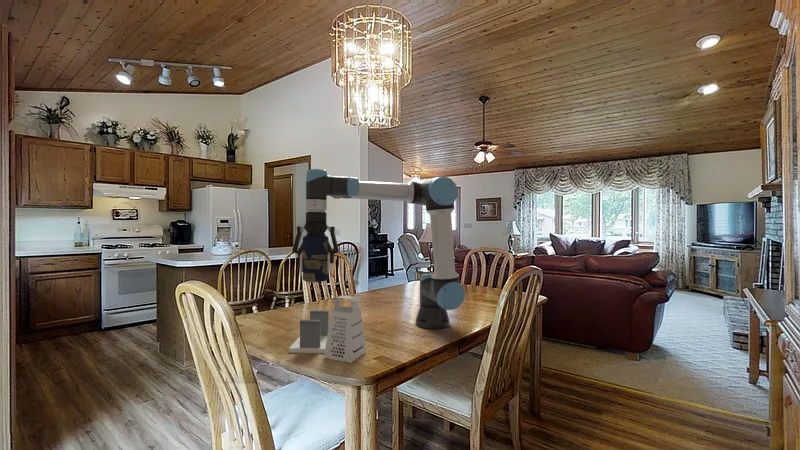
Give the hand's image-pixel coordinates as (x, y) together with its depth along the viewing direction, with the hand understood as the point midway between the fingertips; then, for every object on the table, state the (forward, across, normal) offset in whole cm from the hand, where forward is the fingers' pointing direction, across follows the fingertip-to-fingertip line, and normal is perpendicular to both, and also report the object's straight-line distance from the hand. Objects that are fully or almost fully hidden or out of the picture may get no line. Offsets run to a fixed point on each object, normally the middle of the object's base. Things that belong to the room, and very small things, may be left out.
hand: (315, 271), depth 140 cm
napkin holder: (+27, 0, 0) cm, 27 cm away
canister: (+4, 0, 0) cm, 4 cm away
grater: (+27, +13, -10) cm, 32 cm away
